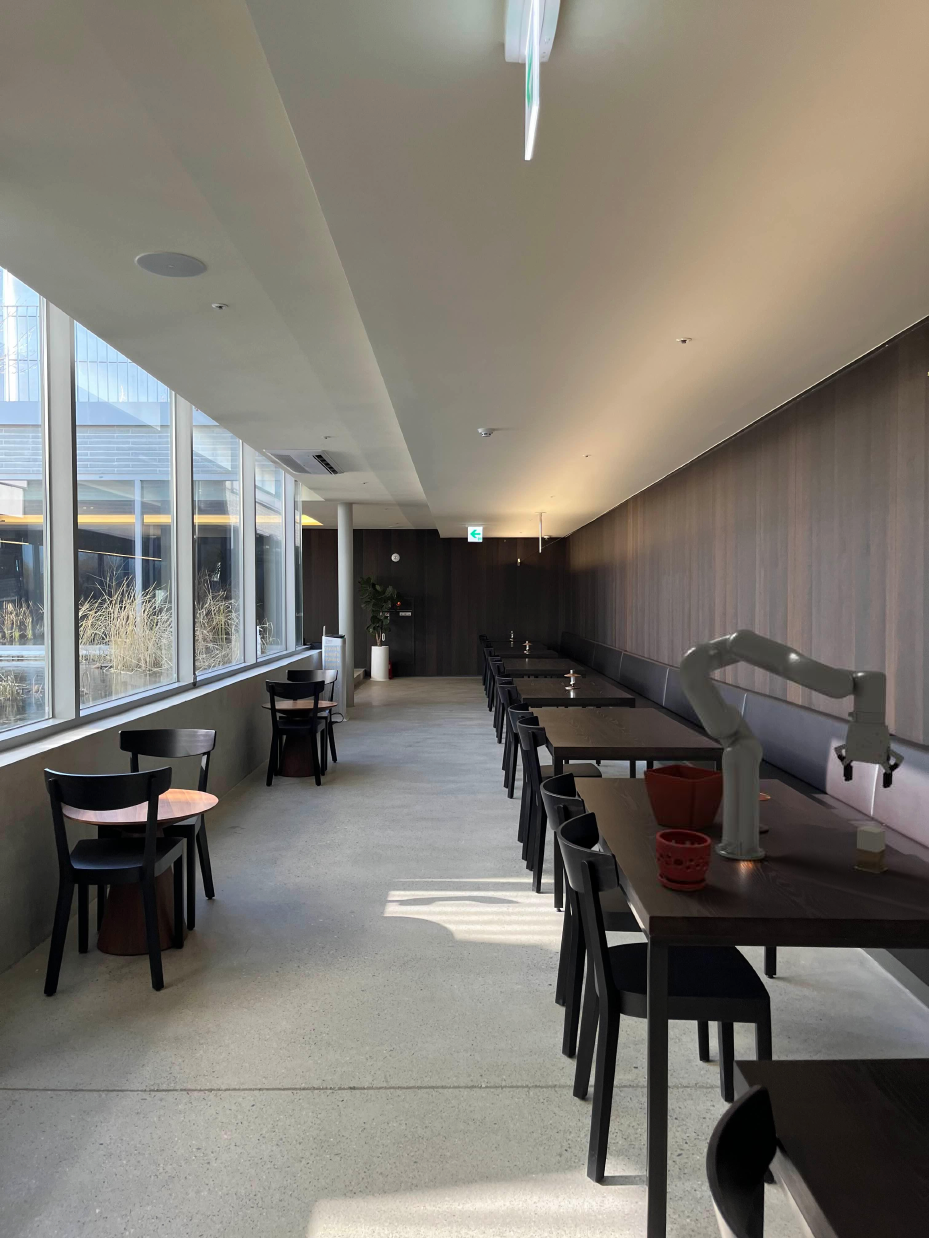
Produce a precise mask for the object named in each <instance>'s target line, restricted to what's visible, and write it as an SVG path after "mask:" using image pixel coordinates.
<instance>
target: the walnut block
mask: <svg viewBox="0 0 929 1238" xmlns="http://www.w3.org/2000/svg"><path fill="white" fill-rule="evenodd" d="M856 866H857V868H856V869H858V868H861V869H860V870H862V869H865V870H864V871H866V870H870V871H869V872H871V871H874V872H873V873H875V872H879V871H881V870H883V869H885V868H886V848H885V849H884V850H882V851H879V852H872V851H868V850H863V849H859V848H857V847H856Z"/></svg>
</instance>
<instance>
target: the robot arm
mask: <svg viewBox="0 0 929 1238" xmlns="http://www.w3.org/2000/svg"><path fill="white" fill-rule="evenodd" d="M741 662H743V663H745V664H747V665H750V666H753V667H756V668H758V669H760V670H763V671H765V672H768V673H770V674H772V675H775V676H777V677H779V678H781V679H783V680H786V681H789V682H792V683H794V684H796V685H799V686H802V687H804V688H806V689H808V690H810V691H813V692H816V693H818V694H821V695H823V696H826V697H828V698H829V699H830V698H831V699H835V700H840V699H844V698H847V697H849V696H853V705H852V706H853V707H852V708H853V710H852V711H848V713H847V716H848V717H849V718H851V721H849V723H848V726H847V732H846V738H845V743H843V744H840V745H838V746H837V745H836V746H835V747H834V748H833V750H834V753H835V754H836V758H837V759H838V760H839V762H841V765H842V767H843V776H842V777H843V778H844V782H851V781H853V775H854V772H853V770H854V766H853V765H852V763H854V762H859V763H863V764H870V765H880V766H881V767H882V769H883V770H884V772H882V788H883V789H888V788H891V786H892V785H893V773H894V772H895V771H896V770H898V769H899V768H900V767H901V765H902V763H903V761H904V760H905V757H904V755H901V753H899V752H897V751H895V750H894V749H893V748H892V746H891V737H890V735H891V734H890V730H889V726H888V725H887V724H886V717H887V716H886V711H887V675H886V674H885V673H884V672H882V671H877V670H859V671H858V670H852V669H846V668H837V667H832V666H830V665H827V664H824V663H822V662H821V661H817V660H814V659H813V658H810V657H809V656H806V655H804V654H803V653H801V652H800V651H798V650H797V649H796V648H793V647H792V646H790V645H786V644H783V643H781V642H778V641H776V640H773V639H770V638H768V637H764V636H763V635H760V634H758V633H756V632H755V631H753V630H752V629H751V630H750V629H746V628H744V629H737V630H735V631H733V632H732V633H730V634H728V635H725V636H722V637H719V638H717V639H714V640H710V641H707V642H704V643H697V644H695V645H692V647H689V649H688V650H687V651H686V652H685V653H684V655H683V656H682V658H681V660H680V663H679V666H678V681H679V684H680V687H681V689H682V691H683V693H684V695H685V697H686V698H687V700H688V701H689V703H690V705H691V707H692V708H693V710H694V712H695V714H696V715H697V718H699V720H700V722H701V724H702V726H703V727H704V729H705V731H706V733H707V734H708V735H709V736H710V737H712V738H713V739H716V740H718V741H719V743H720V744H721V746H722V747H723V752H722V758H721V767H722V768H721V769H722V771H721V772H723V796H722V837H721V843H718V844H716V845H715V847H714V849H715V851H716V852H717V854H719V855H720V856H723V857H725V858H729V859H734V860H740V861H741V860H742V861H755V860H760V859H761V860H762V859H763V858H765V856H766V855H765V850H764V849H762V848H761V847H760V846H759V844H760V839H759V838H760V763H761V762H762V759H763V754H764V753H763V747H762V746H761V745H762V744H761V743H760V741H759V739H757V736H756V735H755V733H754V732H753V730H752V729H751V727H750V726H749V724H748V722H747V720H746V719H745V717H744V716H743V714H742V713H741V711H740V710H739V709H738V708H737V707H736V706H734V705H732V704H731V703H728V702H726V700H725V699H724V697H723V696H722V694H721V693H720V691H719V689H718V688H717V685H716V684H715V683H714V682H713V680H712V678H711V674H710V673H711V672H714V671H715V672H716V671H717V670H720V669H723V668H726V667H729V666H732V665H735V664H737V663H741ZM843 750H844V753H843ZM892 758H894V759H895V760H894V763H892V764H891V762H890V761H891V759H892Z"/></svg>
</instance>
